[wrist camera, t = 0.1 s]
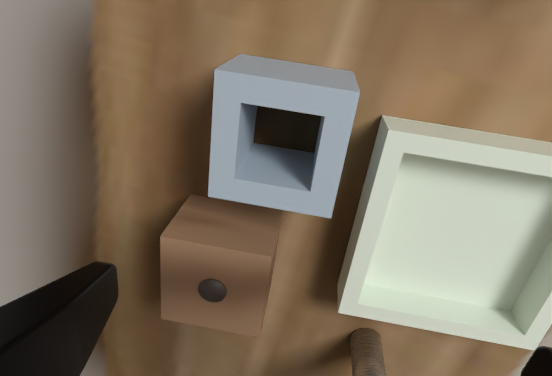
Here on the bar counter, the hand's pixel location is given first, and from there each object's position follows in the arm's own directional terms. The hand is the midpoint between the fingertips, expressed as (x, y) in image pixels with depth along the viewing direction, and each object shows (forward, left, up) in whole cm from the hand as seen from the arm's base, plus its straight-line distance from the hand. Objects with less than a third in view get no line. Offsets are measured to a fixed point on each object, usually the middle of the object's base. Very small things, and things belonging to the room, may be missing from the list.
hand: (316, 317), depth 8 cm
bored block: (0, +2, -15) cm, 15 cm away
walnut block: (-9, +5, -15) cm, 18 cm away
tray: (-5, -9, -15) cm, 18 cm away
